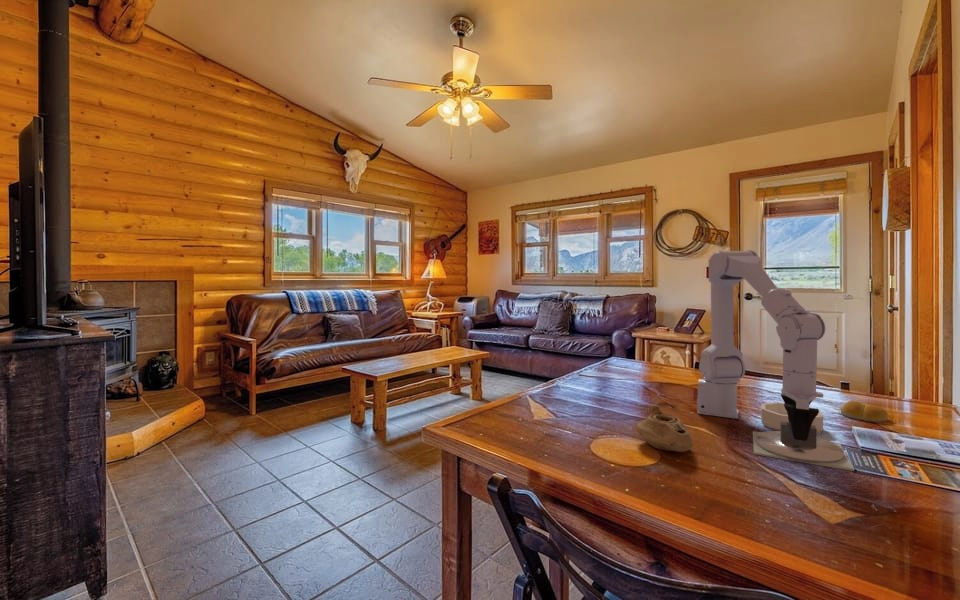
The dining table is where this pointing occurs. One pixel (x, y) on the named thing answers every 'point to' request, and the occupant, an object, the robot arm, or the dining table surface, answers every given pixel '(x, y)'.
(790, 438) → the lid
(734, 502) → the dining table surface
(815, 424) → the bowl
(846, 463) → the mat
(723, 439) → the dining table surface
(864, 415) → the bread roll
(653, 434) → the oil lamp
